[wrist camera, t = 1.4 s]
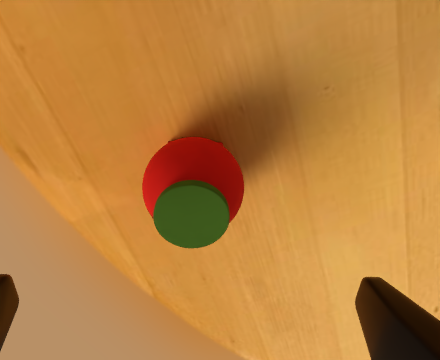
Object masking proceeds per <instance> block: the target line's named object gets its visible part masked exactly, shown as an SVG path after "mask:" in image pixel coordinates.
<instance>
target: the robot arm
mask: <svg viewBox="0 0 440 360" xmlns="http://www.w3.org/2000/svg"><path fill="white" fill-rule="evenodd" d="M18 304H19V298H18V294H17V291H16V288H15V285H14V283H13V279H12V277H11V276H10V275H7V274H0V351H1V348H2V346H3V343H4V341H5V338H6V336H7V333H8V331H9V328H10V326H11V323H12V321H13V318H14V315H15V313H16V311H17V308H18ZM355 305H356V310H357V313H358V317H359V320H360V323H361V327H362V330H363V333H364V337H365V340H366V343H367V347H368V350H369V353H370V357H371V360H440V321H439V320H438V319H437V318H435V317H434V316H432V315H431V314H430V313H428V312H427V311H426V310H424V309H423V308H422V307H420V306H419V305H417V304H416V303H415V302H413V301H412V300H411V299H409V298H408V297H406V296H405V295H404V294H402V293H401V292H400V291H398V290H397V289H395V288H394V287H393V286H391V285H390V284H389V283H387V282H386V281H384V280H383V279H382V278H379V277H364V278H363V279H362V281H361V284H360V287H359V290H358V293H357V296H356V300H355Z"/></svg>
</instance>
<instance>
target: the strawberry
mask: <svg viewBox="0 0 440 360" xmlns="http://www.w3.org/2000/svg"><path fill="white" fill-rule="evenodd" d="M142 190H143V198H144V202H145V205H146V207H147V210H148V212H149V213H150V215H151V216H152V218H153V219H154V224H155V226H156V229H157V230H158V232H159V233H160V235H161V236H162V237H163V238H164V239H166V240H167V241H168V242H170V243H172V244H174V245H177V246H180V247H184V248H200V247H204V246H207V245H210V244H212V243H214V242H215V241H217V240H218V239H219V238H220V237H221V236H222V235H223V234H224V233H225V231H226V229H227V227H228V224H229V223H230V222H231V221H232V219H233V218H234V217H235V215H236V214H237V212H238V210H239V208H240V206H241V203H242V200H243V194H244V181H243V175H242V172H241V169H240V167H239V164H238V163H237V161H236V159H235V158H234V157H233V155H232V154H231V153H230V152H229V151H228V150H227V149H226V148H225V147H223V143H221V142H214V141H212V140H209V139H206V138H202V137H186V138H181V139H177V140H174V141H168V144H166V145H165V146H163V147H162V148H161V149H160V150H159V151H158V152H157V153H156V154H155V155H154V156H153V157H152V159H151V160H150V162H149V164H148V166H147V168H146V170H145V173H144V177H143V184H142Z"/></svg>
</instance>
